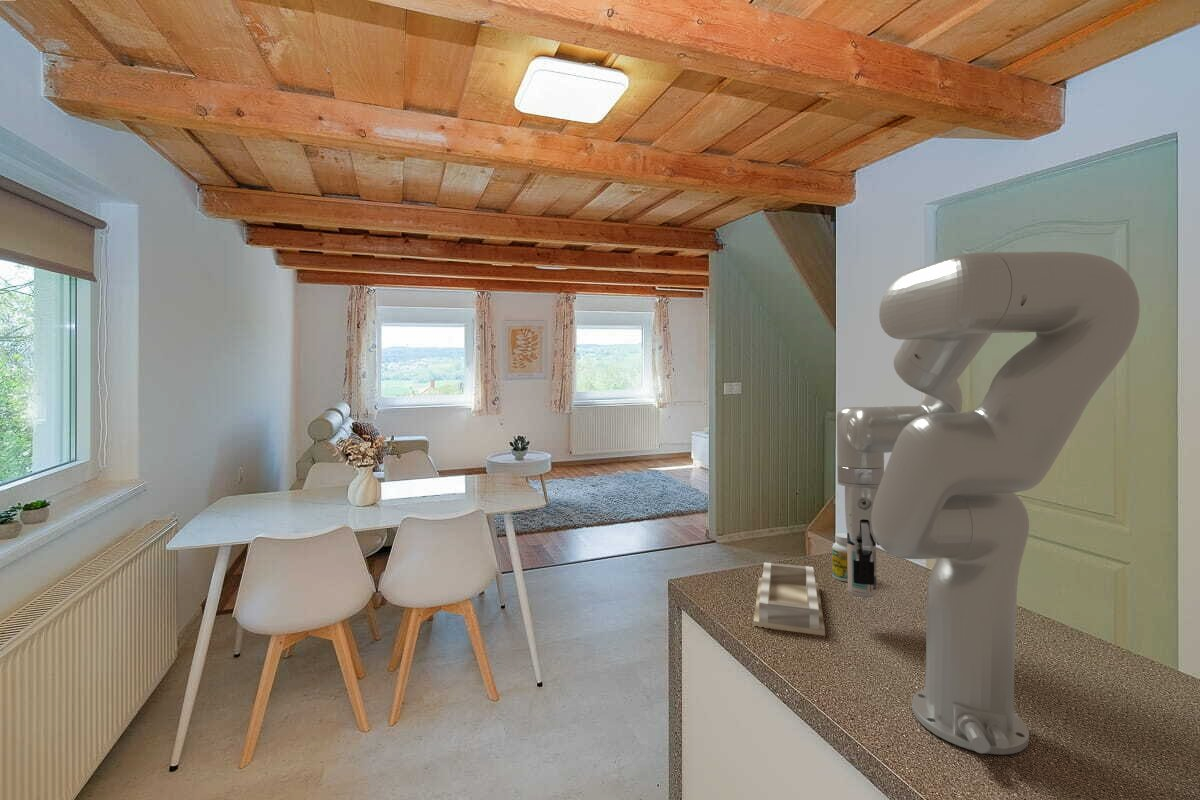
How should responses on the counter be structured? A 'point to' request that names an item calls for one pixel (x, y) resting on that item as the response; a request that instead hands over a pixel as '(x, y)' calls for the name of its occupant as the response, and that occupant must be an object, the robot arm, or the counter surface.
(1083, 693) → the counter surface
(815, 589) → the open rectangular box
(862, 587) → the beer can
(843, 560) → the supplement bottle
